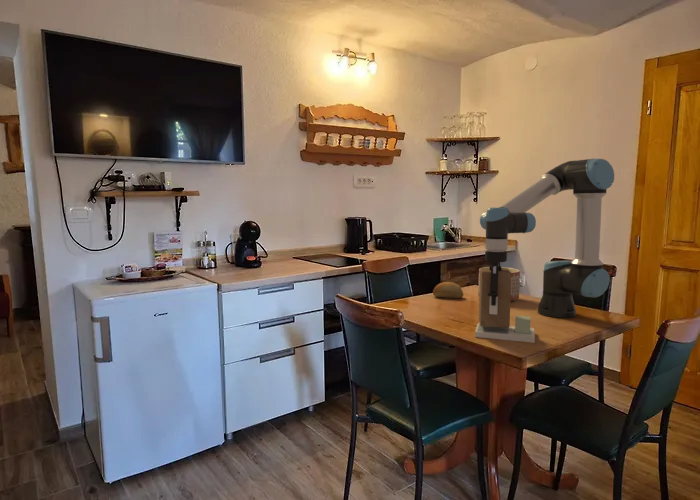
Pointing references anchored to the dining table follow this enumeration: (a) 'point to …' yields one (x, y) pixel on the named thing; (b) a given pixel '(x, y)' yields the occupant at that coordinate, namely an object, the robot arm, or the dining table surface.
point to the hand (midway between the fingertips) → (494, 310)
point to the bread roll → (448, 290)
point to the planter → (514, 283)
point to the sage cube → (522, 324)
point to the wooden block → (503, 299)
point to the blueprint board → (504, 333)
